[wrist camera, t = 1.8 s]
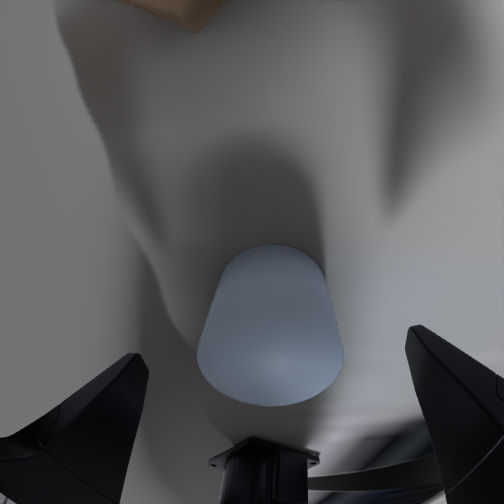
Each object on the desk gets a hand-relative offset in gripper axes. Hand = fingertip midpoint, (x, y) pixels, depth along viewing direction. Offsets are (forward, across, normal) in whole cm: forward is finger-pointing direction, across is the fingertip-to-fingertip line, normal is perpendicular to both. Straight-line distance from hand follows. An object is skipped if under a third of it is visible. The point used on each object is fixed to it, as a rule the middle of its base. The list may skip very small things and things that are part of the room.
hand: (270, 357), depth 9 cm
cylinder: (+4, 0, 0) cm, 4 cm away
